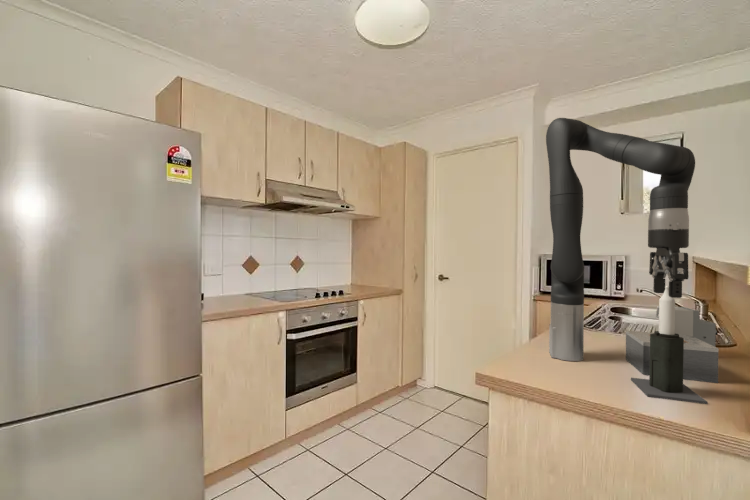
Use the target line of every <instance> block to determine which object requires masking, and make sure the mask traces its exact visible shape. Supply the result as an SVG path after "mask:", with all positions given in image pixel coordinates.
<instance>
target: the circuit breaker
mask: <svg viewBox="0 0 750 500" xmlns="http://www.w3.org/2000/svg"><path fill="white" fill-rule="evenodd" d="M655 319H657V320H659V305H657V306H656V311H655ZM716 326H717V325H716V323H715V322H711V321H707V320H704V319H701V318H700V310H696V309H692V308H688V307H684V306H675V334H679V335H690V336H693V337H695V338H697V339H699V340H701V341H703V342H706V343H708V344H710V345H712V346H714V347H716V336H717V335H718V331H717V327H716Z"/></svg>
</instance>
